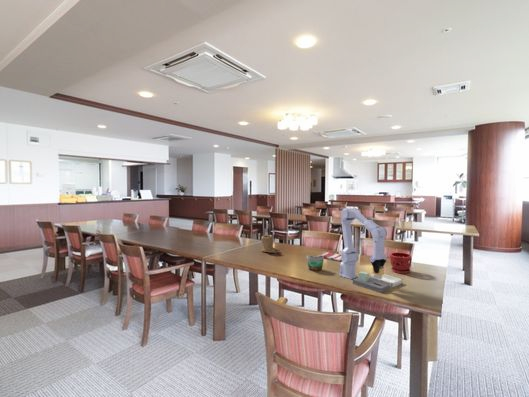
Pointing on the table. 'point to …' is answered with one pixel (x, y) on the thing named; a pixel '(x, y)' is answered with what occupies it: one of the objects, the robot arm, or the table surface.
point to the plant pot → (400, 262)
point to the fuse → (363, 276)
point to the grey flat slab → (372, 285)
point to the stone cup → (268, 244)
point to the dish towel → (332, 256)
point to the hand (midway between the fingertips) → (378, 272)
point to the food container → (315, 263)
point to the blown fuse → (381, 272)
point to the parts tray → (387, 280)
